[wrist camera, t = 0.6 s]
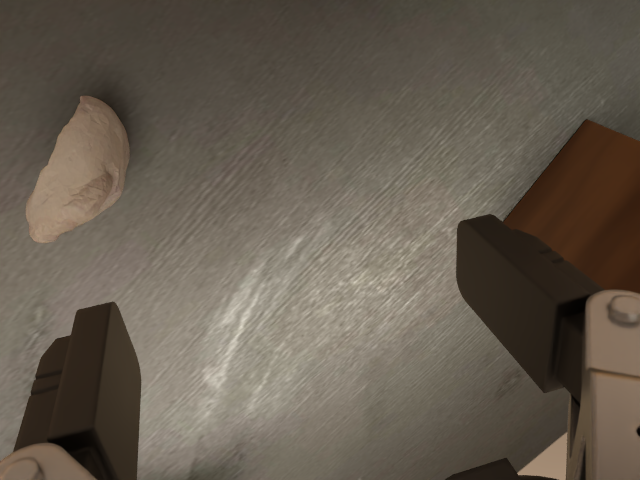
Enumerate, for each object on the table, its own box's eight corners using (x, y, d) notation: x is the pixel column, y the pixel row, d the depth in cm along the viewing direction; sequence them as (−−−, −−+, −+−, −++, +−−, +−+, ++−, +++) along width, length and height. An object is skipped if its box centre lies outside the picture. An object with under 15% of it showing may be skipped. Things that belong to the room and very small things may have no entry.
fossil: (83, 69, 28) (48, 125, 19) (150, 98, 29) (145, 162, 21) (49, 167, 29) (3, 258, 21) (114, 190, 31) (95, 283, 22)
